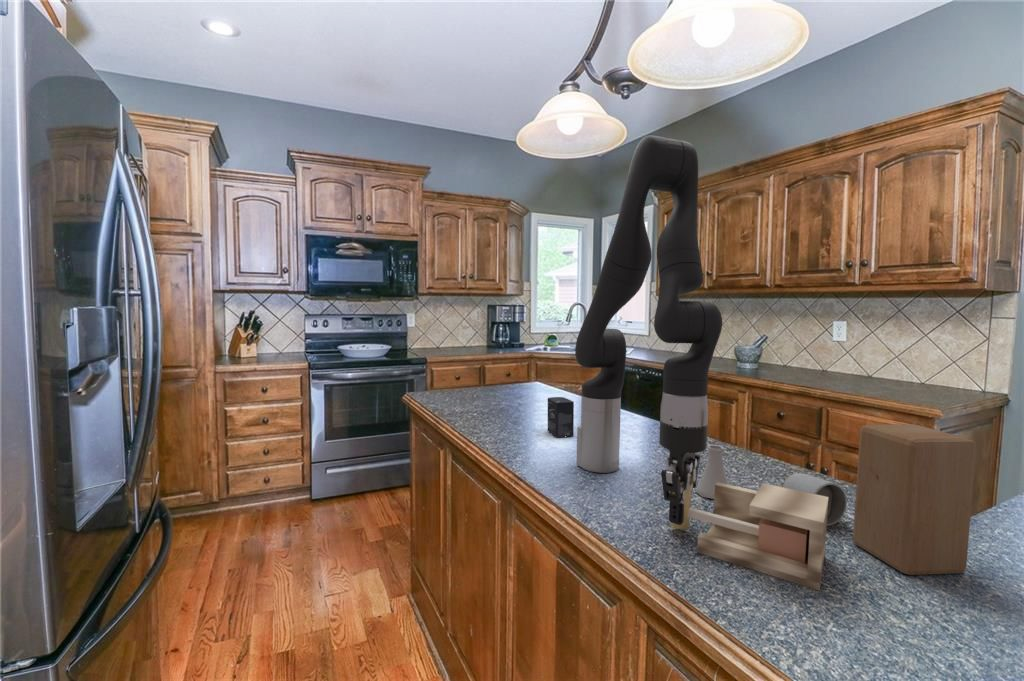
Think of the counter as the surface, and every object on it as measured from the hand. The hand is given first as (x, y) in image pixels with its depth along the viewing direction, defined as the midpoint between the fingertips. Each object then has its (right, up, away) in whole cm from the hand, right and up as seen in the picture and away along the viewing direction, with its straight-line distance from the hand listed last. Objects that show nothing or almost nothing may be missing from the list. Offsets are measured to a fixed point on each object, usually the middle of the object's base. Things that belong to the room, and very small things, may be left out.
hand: (679, 518), depth 80 cm
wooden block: (+32, -3, -8) cm, 33 cm away
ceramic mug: (+25, -2, +6) cm, 26 cm away
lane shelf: (+10, -3, -7) cm, 13 cm away
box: (-14, +2, +61) cm, 63 cm away
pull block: (+7, -2, -5) cm, 9 cm away
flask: (+13, -2, +17) cm, 21 cm away
